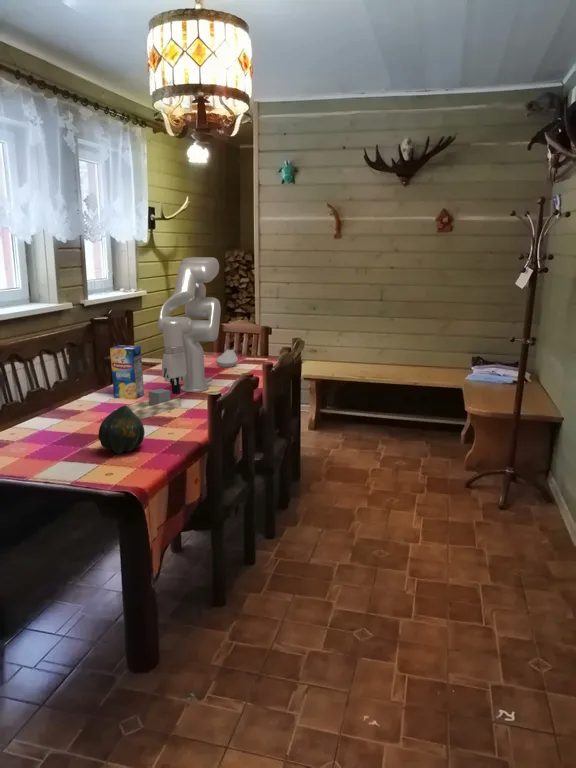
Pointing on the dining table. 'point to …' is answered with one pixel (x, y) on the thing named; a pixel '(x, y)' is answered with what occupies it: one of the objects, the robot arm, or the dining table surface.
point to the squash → (121, 431)
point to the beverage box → (127, 372)
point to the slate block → (158, 396)
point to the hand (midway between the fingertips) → (176, 393)
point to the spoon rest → (227, 359)
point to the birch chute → (153, 408)
